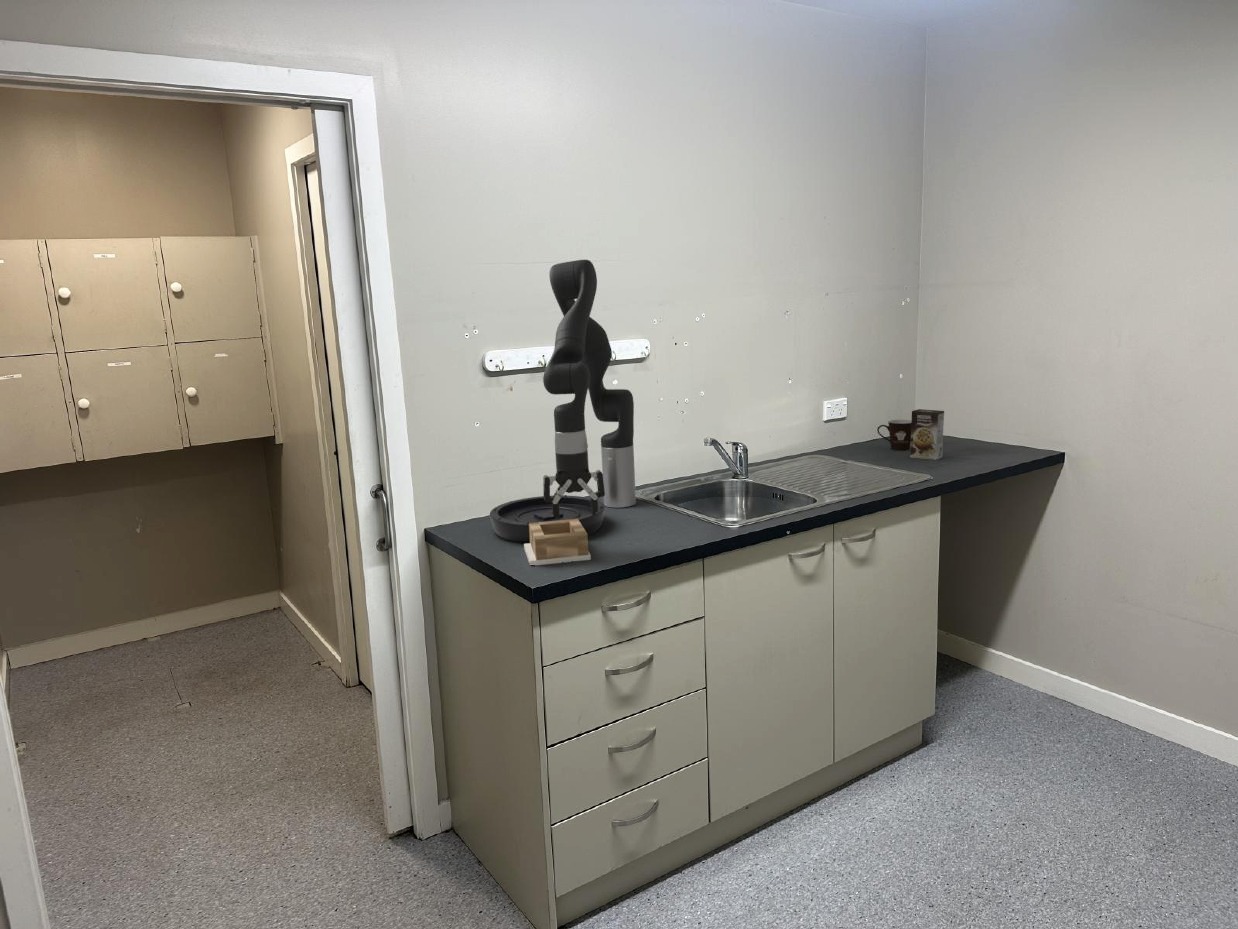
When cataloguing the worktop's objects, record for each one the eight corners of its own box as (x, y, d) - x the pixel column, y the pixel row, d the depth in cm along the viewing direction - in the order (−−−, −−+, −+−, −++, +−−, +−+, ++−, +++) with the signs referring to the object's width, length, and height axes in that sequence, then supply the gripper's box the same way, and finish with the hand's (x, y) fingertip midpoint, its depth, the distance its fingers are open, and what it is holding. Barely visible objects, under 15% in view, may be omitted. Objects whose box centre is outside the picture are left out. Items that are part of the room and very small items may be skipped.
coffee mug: (916, 448, 307) (917, 420, 305) (906, 452, 300) (907, 424, 298) (886, 445, 314) (886, 418, 312) (875, 449, 308) (876, 421, 306)
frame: (530, 543, 207) (528, 523, 206) (578, 538, 209) (577, 518, 208) (536, 560, 194) (535, 539, 193) (588, 554, 196) (587, 533, 195)
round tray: (564, 508, 245) (470, 530, 227) (563, 488, 243) (469, 508, 226) (628, 529, 221) (529, 554, 204) (627, 506, 220) (528, 530, 202)
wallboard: (524, 548, 207) (522, 530, 206) (580, 542, 210) (580, 525, 209) (530, 566, 194) (529, 547, 193) (590, 559, 196) (589, 540, 195)
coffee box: (909, 457, 291) (910, 411, 288) (916, 454, 296) (917, 408, 292) (936, 460, 285) (937, 412, 282) (943, 457, 290) (944, 410, 287)
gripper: (598, 443, 203) (602, 509, 206) (538, 449, 200) (543, 515, 203) (604, 449, 195) (608, 517, 199) (542, 455, 193) (547, 524, 196)
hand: (575, 516), depth 201 cm, fingers open, 8 cm apart
